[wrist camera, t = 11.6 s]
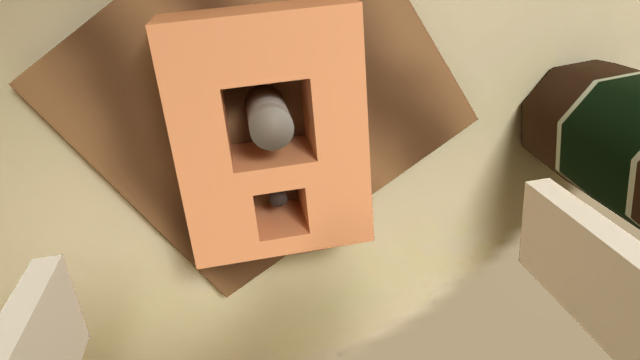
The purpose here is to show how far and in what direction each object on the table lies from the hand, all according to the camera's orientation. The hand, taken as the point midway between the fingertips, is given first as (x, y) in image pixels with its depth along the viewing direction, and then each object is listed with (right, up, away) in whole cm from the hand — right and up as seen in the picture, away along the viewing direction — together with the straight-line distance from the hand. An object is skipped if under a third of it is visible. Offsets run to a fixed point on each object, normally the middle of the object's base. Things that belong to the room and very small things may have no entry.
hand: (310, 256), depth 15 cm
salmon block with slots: (-3, +7, +16) cm, 17 cm away
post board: (-3, +7, +17) cm, 18 cm away
